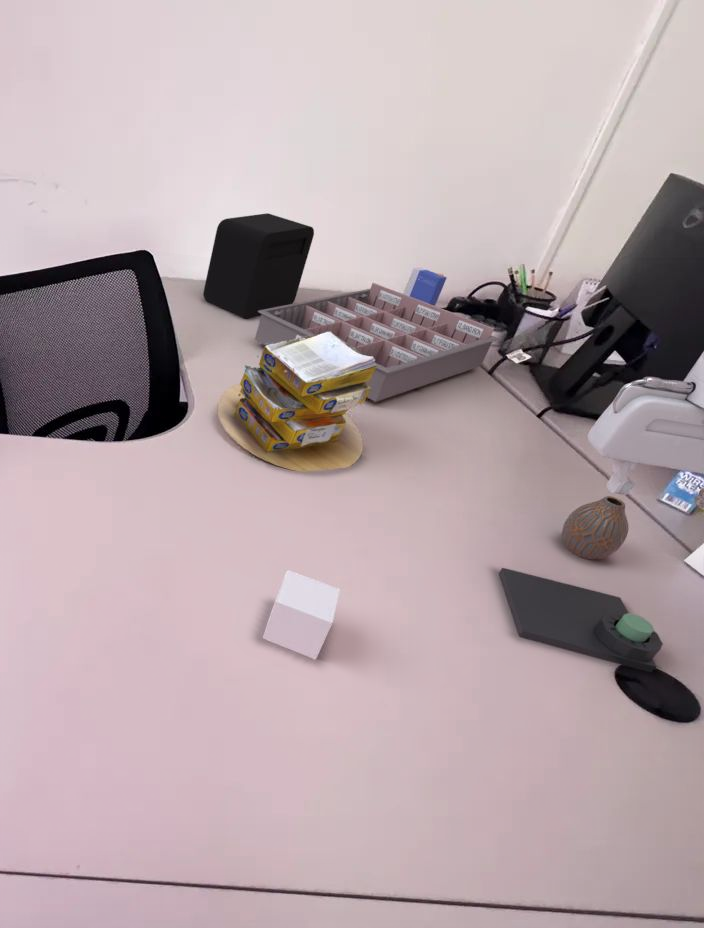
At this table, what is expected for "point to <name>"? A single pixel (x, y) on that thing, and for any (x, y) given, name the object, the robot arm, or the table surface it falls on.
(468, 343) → the organizer tray
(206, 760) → the table surface
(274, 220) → the air purifier
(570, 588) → the scale
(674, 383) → the robot arm
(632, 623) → the button
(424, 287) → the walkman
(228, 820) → the table surface
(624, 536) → the vase
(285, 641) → the white cube
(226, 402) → the stacked yellow boxes
